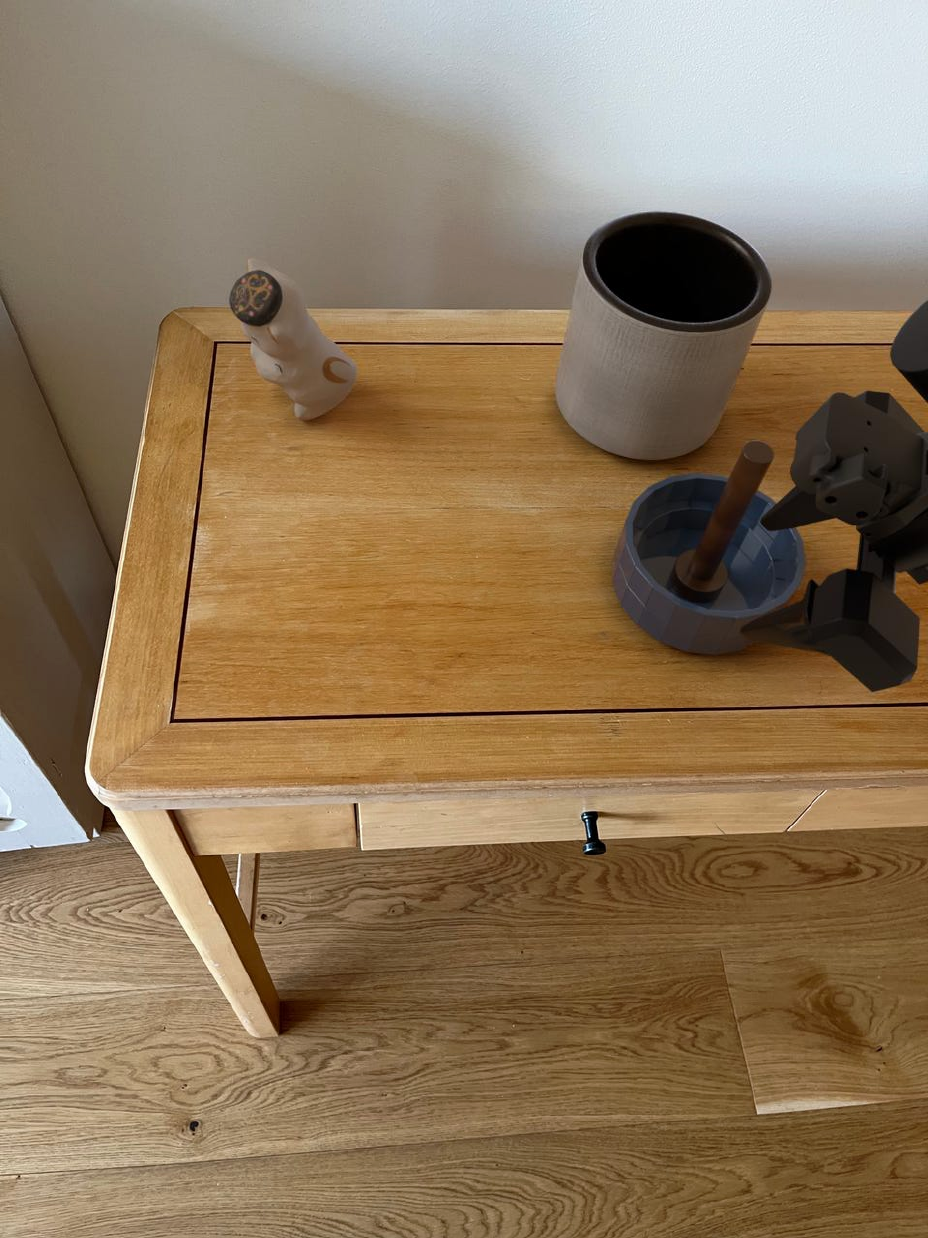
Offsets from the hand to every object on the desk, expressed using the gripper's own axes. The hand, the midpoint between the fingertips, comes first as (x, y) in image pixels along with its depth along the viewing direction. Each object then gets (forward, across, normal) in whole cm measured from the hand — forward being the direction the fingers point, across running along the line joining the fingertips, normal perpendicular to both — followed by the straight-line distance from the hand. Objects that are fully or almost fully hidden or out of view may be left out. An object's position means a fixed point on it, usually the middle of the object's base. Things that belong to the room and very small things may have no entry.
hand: (754, 577), depth 60 cm
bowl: (+13, -10, +7) cm, 18 cm away
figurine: (+35, -17, -24) cm, 46 cm away
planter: (+19, -29, 0) cm, 34 cm away
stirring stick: (+13, -10, +7) cm, 18 cm away
